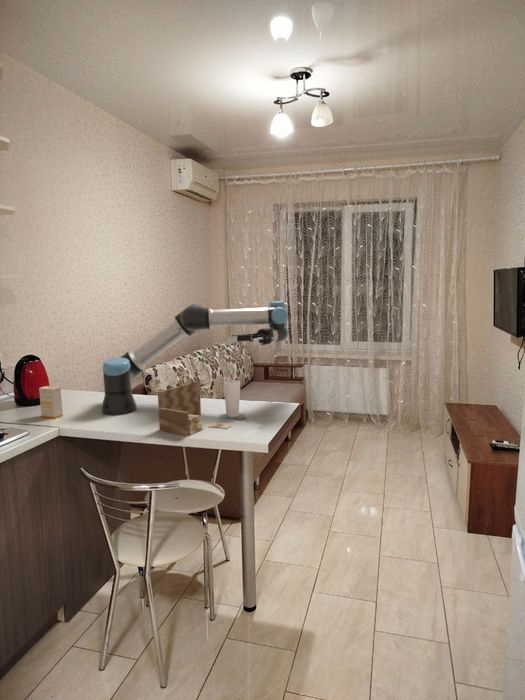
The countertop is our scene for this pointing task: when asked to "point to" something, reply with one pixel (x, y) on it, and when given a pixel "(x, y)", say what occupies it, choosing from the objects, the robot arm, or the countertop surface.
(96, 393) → the countertop surface
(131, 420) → the countertop surface
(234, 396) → the drinking glass
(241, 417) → the coaster
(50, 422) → the countertop surface
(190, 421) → the offcut upper
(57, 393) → the supplement box
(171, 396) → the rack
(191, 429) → the offcut lower
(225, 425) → the offcut flat
